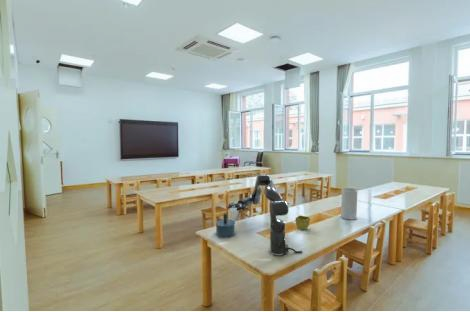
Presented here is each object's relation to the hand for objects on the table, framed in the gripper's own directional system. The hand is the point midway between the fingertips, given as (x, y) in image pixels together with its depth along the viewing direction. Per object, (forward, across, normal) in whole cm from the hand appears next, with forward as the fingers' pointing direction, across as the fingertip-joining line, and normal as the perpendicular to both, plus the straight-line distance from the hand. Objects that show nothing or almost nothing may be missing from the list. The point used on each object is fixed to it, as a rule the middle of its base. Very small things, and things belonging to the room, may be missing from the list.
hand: (232, 208), depth 194 cm
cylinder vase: (-80, +69, +18) cm, 107 cm away
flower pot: (-33, +44, +18) cm, 58 cm away
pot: (+10, 0, +17) cm, 20 cm away
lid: (+9, 0, +9) cm, 13 cm away
